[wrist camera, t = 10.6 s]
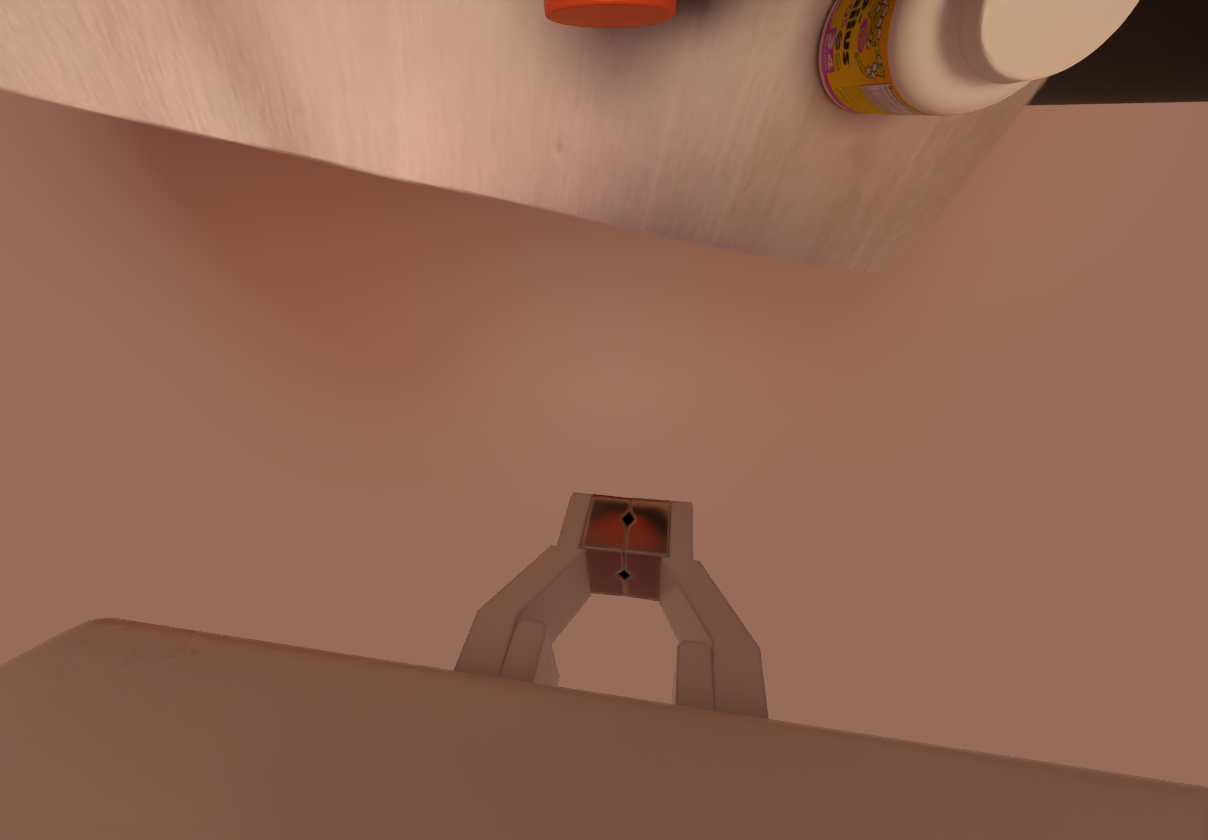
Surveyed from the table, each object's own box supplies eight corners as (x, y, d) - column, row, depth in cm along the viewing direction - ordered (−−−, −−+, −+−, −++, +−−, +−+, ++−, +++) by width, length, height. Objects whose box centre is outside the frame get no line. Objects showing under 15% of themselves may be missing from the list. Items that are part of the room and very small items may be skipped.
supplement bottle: (876, -80, 21) (1115, -271, 11) (977, -5, 22) (1280, -109, 12) (788, 79, 25) (901, 55, 14) (879, 136, 26) (1045, 152, 16)
